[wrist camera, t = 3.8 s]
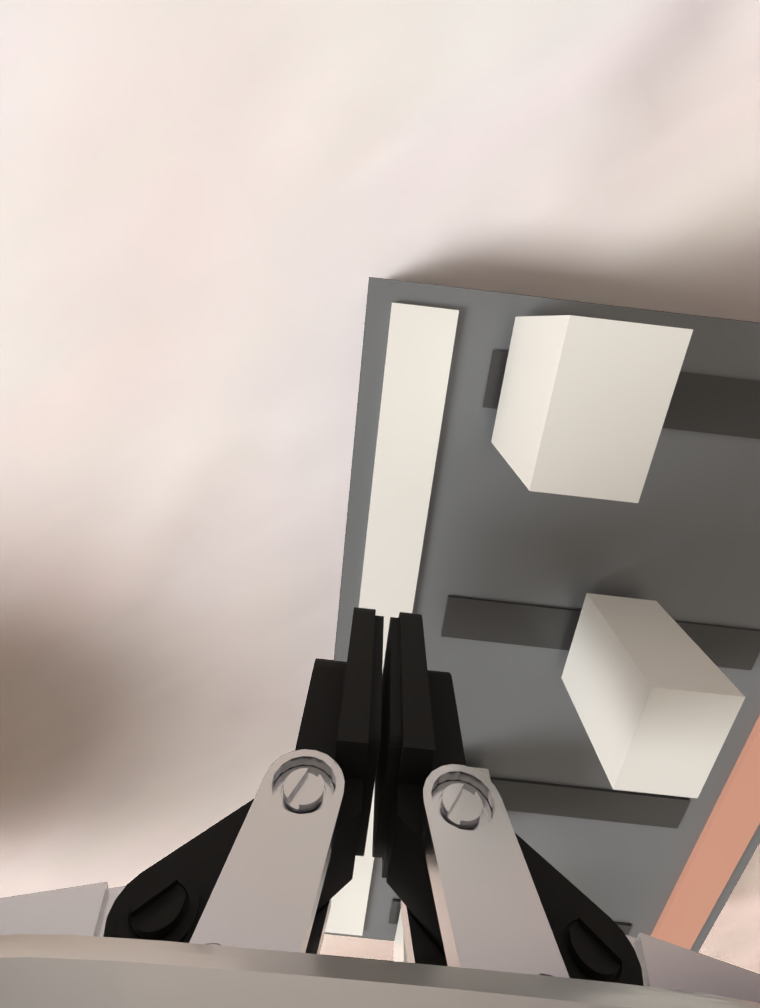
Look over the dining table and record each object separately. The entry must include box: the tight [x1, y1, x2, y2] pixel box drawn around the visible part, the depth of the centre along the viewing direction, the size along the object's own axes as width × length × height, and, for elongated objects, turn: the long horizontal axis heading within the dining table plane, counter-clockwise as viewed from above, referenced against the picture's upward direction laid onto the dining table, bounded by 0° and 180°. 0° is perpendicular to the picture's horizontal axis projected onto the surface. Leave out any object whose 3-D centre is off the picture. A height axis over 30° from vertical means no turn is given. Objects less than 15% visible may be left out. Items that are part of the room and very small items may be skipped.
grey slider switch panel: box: [324, 277, 760, 963], centre depth 15 cm, size 16×25×7 cm, turn 174°
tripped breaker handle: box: [561, 593, 745, 798], centre depth 13 cm, size 2×3×4 cm, turn 174°
